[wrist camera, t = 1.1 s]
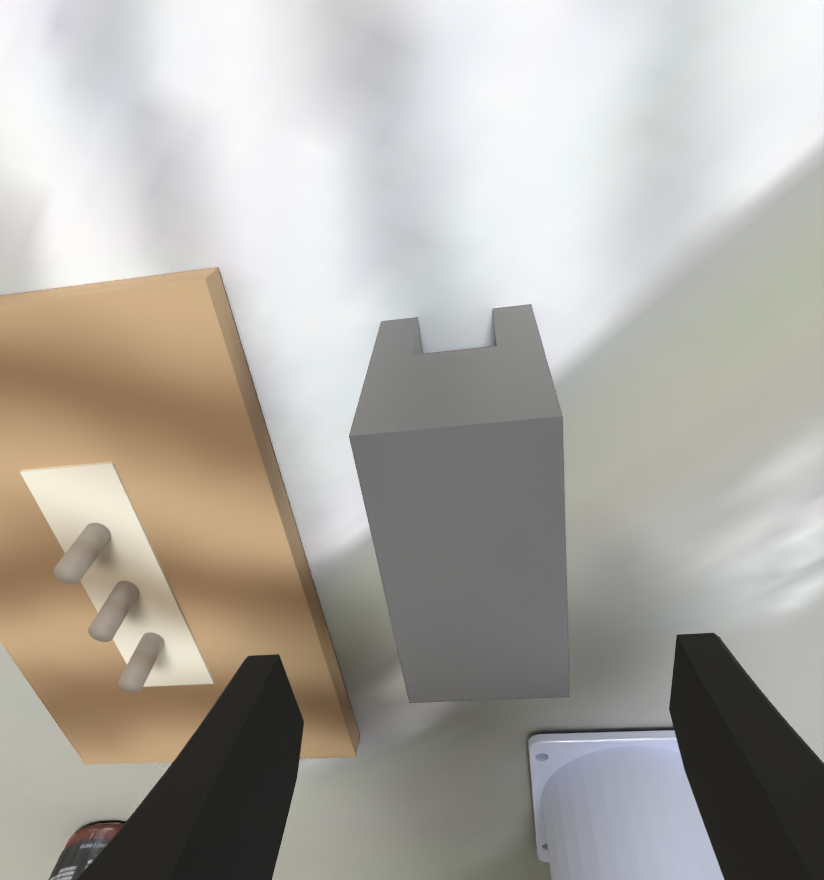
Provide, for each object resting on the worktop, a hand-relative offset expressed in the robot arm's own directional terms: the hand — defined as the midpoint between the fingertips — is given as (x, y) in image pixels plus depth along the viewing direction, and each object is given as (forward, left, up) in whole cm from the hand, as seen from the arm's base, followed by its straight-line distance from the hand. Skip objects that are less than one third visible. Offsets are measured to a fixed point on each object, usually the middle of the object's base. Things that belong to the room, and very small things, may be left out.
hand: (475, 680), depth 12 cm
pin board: (-4, +12, -8) cm, 15 cm away
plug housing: (0, 0, -9) cm, 9 cm away
